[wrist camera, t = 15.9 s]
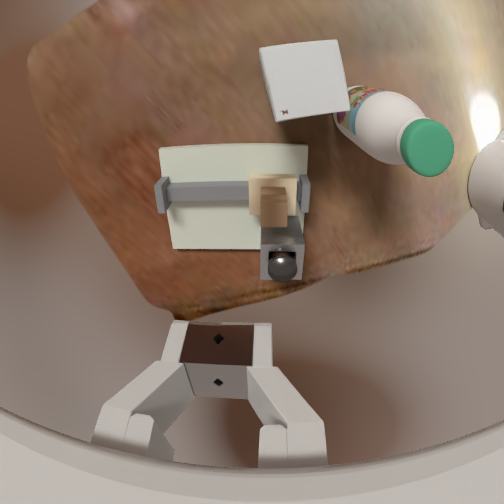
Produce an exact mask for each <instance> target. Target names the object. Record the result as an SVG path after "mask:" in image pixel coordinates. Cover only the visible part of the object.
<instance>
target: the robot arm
mask: <svg viewBox="0 0 504 504" xmlns="http://www.w3.org/2000/svg"><path fill="white" fill-rule="evenodd" d="M468 193H469V199H470V202H471V205H472V207H473V208H474V210H475V211H476V212H477V214H478V216H479V222H480V225H481V227H482V228H484V229H491V228H493V229H494V230H495V231H497V232H498V233H499V234H500V235H501V236H503V237H504V130H503V131H502V132H501V133H500V134H499V136H498V137H497V139H496V140H495V141H493V142H492V143H490V144H488V145H487V146H486V147H485V148H483V149H482V151H481V152H480V153H479V154H478V156H477V158H476V159H475V161H474V163H473V166H472V168H471V172H470V176H469V182H468ZM194 396H201V397H222V398H236V399H248V400H249V402H250V404H251V405H252V407H253V408H254V410H255V412H256V413H257V415H258V417H259V418H260V420H261V421H262V423H263V425H264V426H263V427H262V428H261V429H260V440H259V463H258V468H233V467H232V468H231V467H218V466H207V465H197V464H189V463H181V462H175V461H173V456H174V449H173V448H172V446H171V445H170V443H169V442H168V441H167V439H166V437H165V436H164V435H163V433H164V432H165V431H166V430H167V429H168V428H169V427H170V426H171V424H172V423H173V422H174V421H175V420H176V419H177V417H178V416H179V415H180V414H181V413H182V412H183V411H184V409H185V408H186V407H187V406H188V405H189V404H190V403H191V401H192V400H193V399H194ZM0 504H504V420H503V421H501V422H498V423H496V424H494V425H491V426H489V427H487V428H484V429H481V430H479V431H476V432H473V433H471V434H468V435H465V436H462V437H460V438H456V439H454V440H451V441H447V442H444V443H441V444H438V445H434V446H430V447H427V448H423V449H419V450H415V451H411V452H407V453H403V454H399V455H394V456H389V457H384V458H379V459H373V460H367V461H361V462H354V463H346V464H338V465H328V464H327V452H326V441H325V431H324V422H323V421H322V420H321V418H320V417H319V416H318V415H317V414H316V413H315V411H314V410H313V409H312V408H311V407H310V406H309V404H308V403H307V402H306V401H305V400H304V398H303V397H302V396H301V395H300V394H299V393H298V391H297V390H296V389H295V388H294V387H293V385H292V384H291V383H290V382H289V380H288V379H287V378H286V377H285V375H284V374H283V373H282V372H281V371H280V369H279V368H278V367H273V365H272V325H271V323H255V325H254V323H214V322H199V321H182V320H174V322H173V323H172V325H171V328H170V331H169V334H168V338H167V341H166V344H165V348H164V351H163V354H162V358H161V361H155V362H154V363H153V364H152V365H150V366H149V367H148V368H147V369H146V370H144V371H143V372H142V373H141V374H140V375H139V376H137V377H136V378H135V379H134V380H133V381H131V382H130V383H129V384H128V385H127V386H125V387H124V388H123V389H122V390H121V391H119V392H118V393H117V394H116V395H115V396H113V397H112V398H111V399H110V400H108V401H107V402H106V403H105V404H104V405H103V406H102V410H101V412H100V415H99V418H98V421H97V424H96V427H95V431H94V434H93V436H92V440H91V443H89V442H86V441H83V440H80V439H77V438H74V437H71V436H68V435H65V434H62V433H60V432H57V431H54V430H51V429H49V428H46V427H44V426H41V425H39V424H36V423H34V422H32V421H29V420H27V419H25V418H23V417H20V416H18V415H16V414H14V413H12V412H10V411H8V410H6V409H4V408H1V407H0Z"/></svg>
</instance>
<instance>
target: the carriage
mask: <svg viewBox="0 0 504 504" xmlns="http://www.w3.org/2000/svg"><path fill="white" fill-rule="evenodd" d="M296 195H297V177H296V176H295V174H250V175H249V215H260V227H287V215H295V214H296Z"/></svg>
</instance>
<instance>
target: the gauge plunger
mask: <svg viewBox="0 0 504 504" xmlns="http://www.w3.org/2000/svg"><path fill="white" fill-rule="evenodd" d="M268 274H269V276H270V277H271V278H272V279H273V280H275V281H278V282H286V281H289V280H291V279H293V278H294V277H295V275H296V274H297V263H296V260H295V259H294V258H293V257H292V256H291V254H290V252H283V251H272V258H271V259H270V260H269V262H268Z"/></svg>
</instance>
